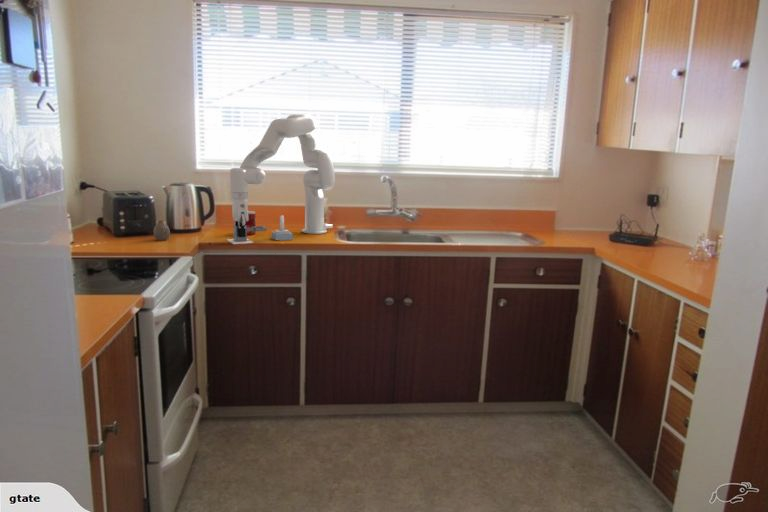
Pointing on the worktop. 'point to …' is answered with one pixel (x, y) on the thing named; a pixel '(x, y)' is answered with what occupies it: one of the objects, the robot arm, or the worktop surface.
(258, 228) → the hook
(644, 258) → the worktop surface
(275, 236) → the grey joystick
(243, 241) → the mat
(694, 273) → the worktop surface
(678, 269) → the worktop surface
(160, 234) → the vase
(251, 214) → the canned food
